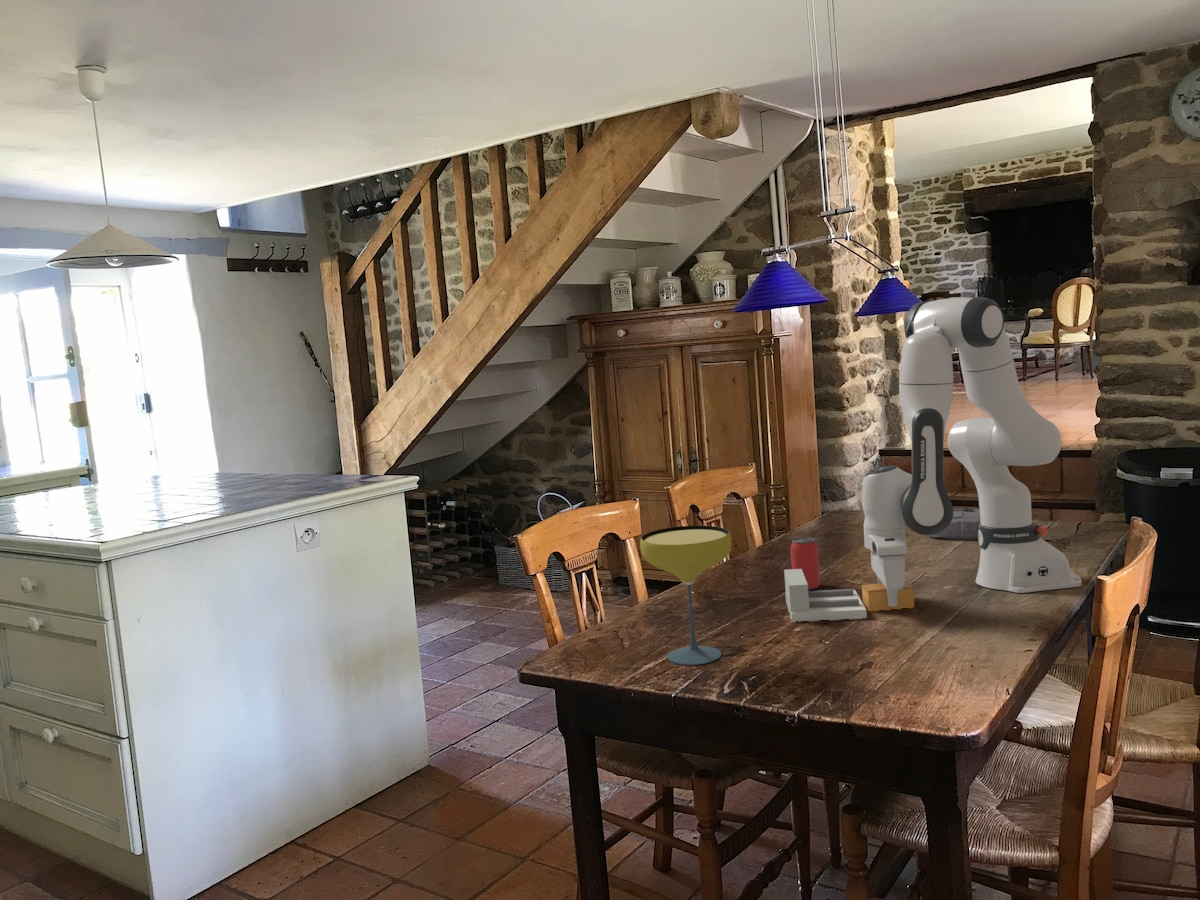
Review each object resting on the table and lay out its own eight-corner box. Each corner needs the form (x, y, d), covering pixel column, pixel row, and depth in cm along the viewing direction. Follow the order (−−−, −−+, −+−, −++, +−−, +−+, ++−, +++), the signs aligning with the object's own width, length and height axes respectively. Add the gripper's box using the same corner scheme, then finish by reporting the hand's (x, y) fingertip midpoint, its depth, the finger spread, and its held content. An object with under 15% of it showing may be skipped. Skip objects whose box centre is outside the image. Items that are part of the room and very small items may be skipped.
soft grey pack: (998, 530, 275) (926, 530, 283) (997, 502, 274) (925, 503, 282) (997, 542, 261) (921, 541, 269) (996, 512, 260) (920, 513, 268)
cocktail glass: (738, 671, 179) (728, 542, 176) (644, 673, 182) (633, 547, 179) (740, 640, 197) (732, 523, 194) (655, 642, 200) (645, 527, 197)
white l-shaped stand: (855, 598, 219) (853, 564, 218) (866, 618, 204) (864, 582, 203) (786, 601, 221) (783, 568, 220) (791, 622, 206) (789, 586, 205)
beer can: (820, 590, 229) (817, 541, 227) (793, 591, 230) (790, 543, 229) (819, 583, 235) (817, 536, 234) (793, 583, 236) (790, 537, 235)
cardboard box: (906, 602, 213) (905, 581, 213) (914, 608, 208) (913, 586, 208) (863, 606, 213) (861, 584, 213) (869, 612, 208) (868, 590, 208)
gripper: (862, 530, 220) (866, 588, 221) (878, 550, 199) (882, 613, 201) (890, 528, 219) (893, 586, 220) (909, 548, 199) (912, 611, 200)
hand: (888, 599), depth 210 cm, fingers open, 8 cm apart
